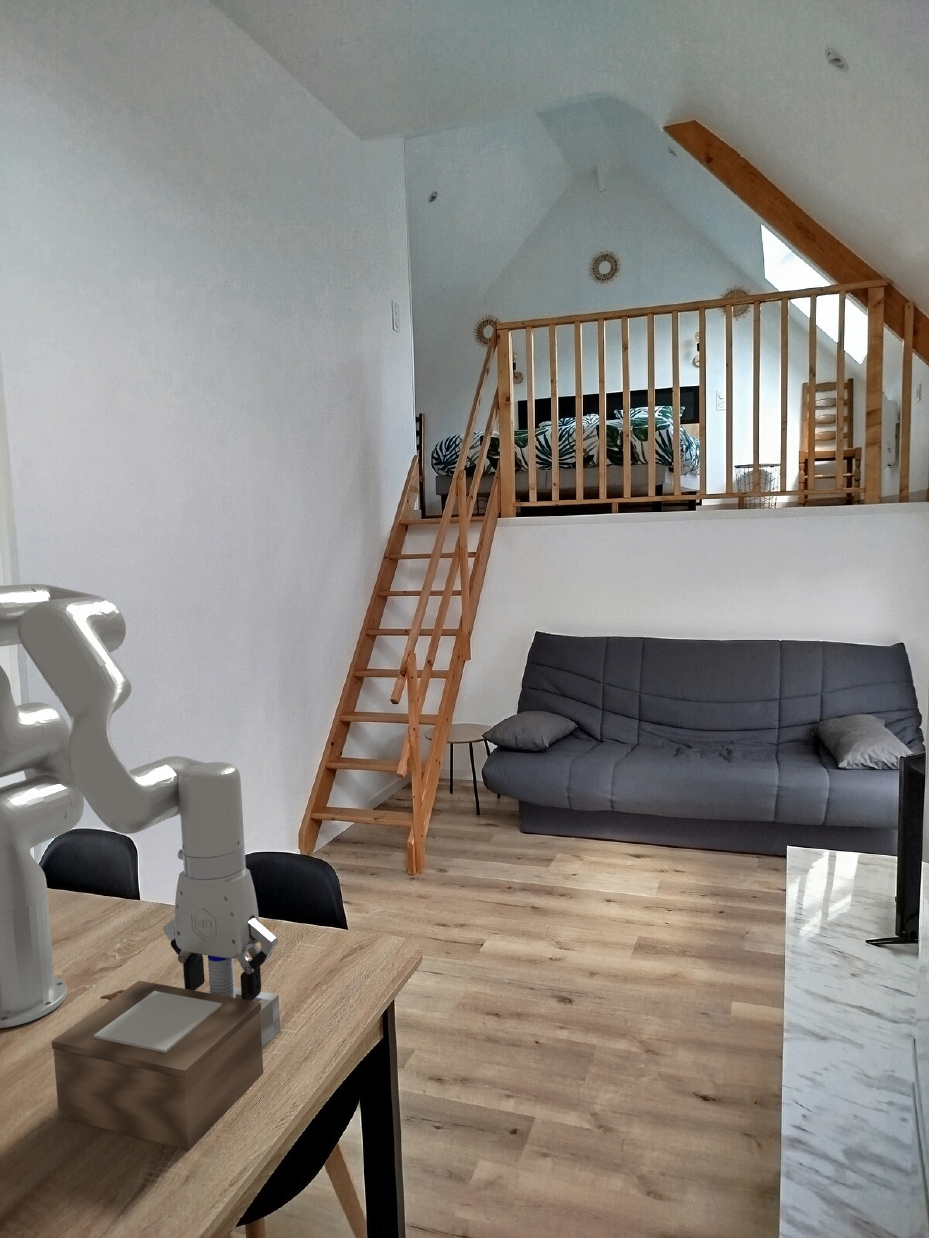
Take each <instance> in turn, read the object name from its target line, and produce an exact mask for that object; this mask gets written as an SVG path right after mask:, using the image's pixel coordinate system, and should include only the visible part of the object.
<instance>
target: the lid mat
mask: <svg viewBox="0 0 929 1238" xmlns="http://www.w3.org/2000/svg"><path fill="white" fill-rule="evenodd" d="M221 1006H222V1004H221V1003H217V1002H212V1001H206V1000H201V999H196V998H190V997H185V996H179V995H174V994H168V993H163V992H158V991H154V992H152V993H151V994H150V995H148V996H147V997H145V998H144V999H143V1000H141V1001H140V1002H139V1003H137V1004H136V1005H134V1006H133V1007H132V1008H130V1009H129V1010H128V1011H126V1012H125V1013H123V1014H122V1015H121V1016H119V1017H118V1018H117V1019H115V1020H114V1021H112V1022H111V1023H110V1024H108V1025H107V1026H106V1027H104V1028H103V1029H101V1030H100V1031H99V1032H97V1033H96V1034H95V1035H94V1038H98V1039H103V1040H108V1041H112V1042H117V1043H121V1044H126V1045H131V1046H135V1047H140V1048H145V1049H149V1050H154V1051H159V1052H163V1053H166V1052H167V1051H168V1050H170V1049H171V1048H172V1047H173V1046H174V1045H176V1044H177V1043H178V1042H179V1041H180V1040H181V1039H183V1038H184V1037H185V1036H186V1035H187V1034H189V1033H190V1032H191V1031H192V1030H193V1029H195V1028H196V1027H197V1026H198V1025H199V1024H200V1023H202V1022H203V1021H204V1020H205V1019H206V1018H208V1017H209V1016H210V1015H211V1014H212V1013H213V1012H215V1011H216V1010H217V1009H218V1008H219V1007H221Z"/></svg>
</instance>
